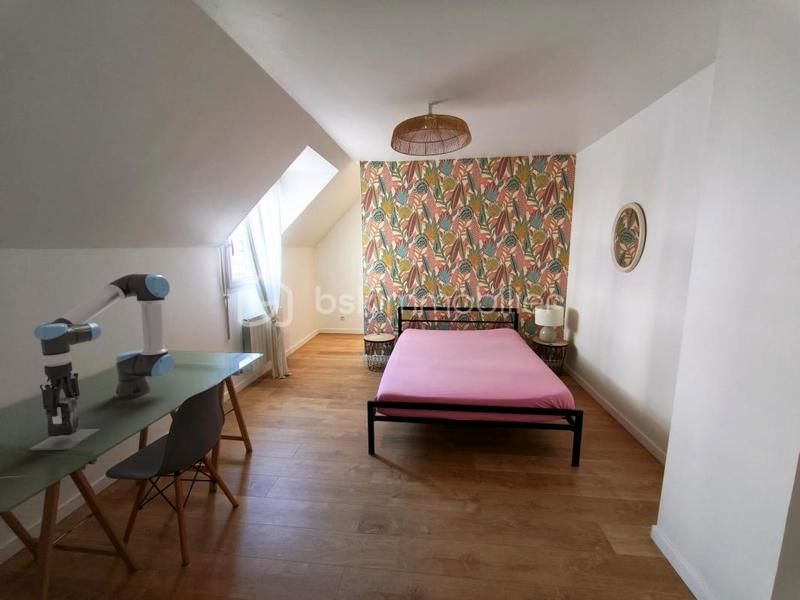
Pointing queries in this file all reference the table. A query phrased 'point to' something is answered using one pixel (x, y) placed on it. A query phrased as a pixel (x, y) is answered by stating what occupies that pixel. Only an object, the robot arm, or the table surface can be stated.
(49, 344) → the robot arm
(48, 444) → the slate pad
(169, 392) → the table surface
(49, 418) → the stone block
